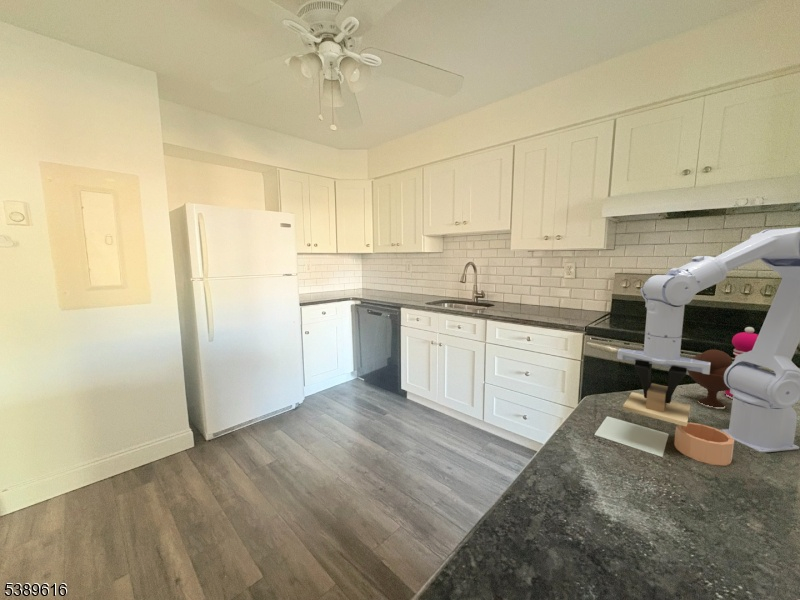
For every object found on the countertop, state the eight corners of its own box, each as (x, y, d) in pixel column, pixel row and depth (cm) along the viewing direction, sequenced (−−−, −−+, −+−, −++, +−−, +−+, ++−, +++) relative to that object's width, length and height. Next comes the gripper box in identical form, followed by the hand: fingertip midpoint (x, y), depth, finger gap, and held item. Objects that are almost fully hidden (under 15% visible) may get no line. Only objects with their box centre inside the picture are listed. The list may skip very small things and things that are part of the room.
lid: (631, 395, 74) (633, 376, 73) (690, 409, 67) (692, 388, 66) (622, 409, 67) (623, 389, 66) (686, 426, 60) (688, 403, 59)
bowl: (697, 441, 67) (700, 421, 67) (743, 465, 59) (746, 442, 59) (664, 444, 66) (666, 423, 66) (705, 469, 58) (708, 446, 58)
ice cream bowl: (754, 416, 78) (762, 356, 76) (700, 412, 80) (707, 353, 78) (720, 397, 88) (726, 344, 87) (673, 394, 91) (679, 342, 89)
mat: (606, 417, 78) (607, 416, 78) (668, 435, 70) (668, 433, 70) (594, 436, 69) (594, 434, 69) (662, 458, 61) (662, 456, 61)
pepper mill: (769, 405, 84) (779, 330, 81) (736, 403, 85) (746, 329, 83) (744, 394, 91) (753, 324, 88) (715, 392, 92) (723, 324, 90)
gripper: (615, 332, 67) (611, 395, 69) (712, 344, 57) (704, 417, 58) (623, 327, 72) (618, 385, 73) (713, 337, 62) (706, 405, 63)
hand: (657, 399), depth 66 cm, fingers closed on lid, 3 cm apart
